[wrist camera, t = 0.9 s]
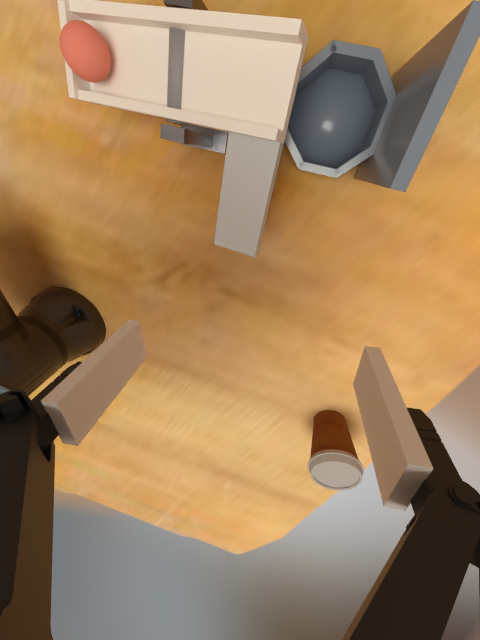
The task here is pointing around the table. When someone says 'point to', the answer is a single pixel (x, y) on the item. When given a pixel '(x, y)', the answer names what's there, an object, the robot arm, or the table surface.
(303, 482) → the table surface
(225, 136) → the trough stand
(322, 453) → the disposable coffee cup
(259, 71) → the lever
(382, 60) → the cup
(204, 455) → the table surface
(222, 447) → the table surface
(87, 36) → the rubber ball
